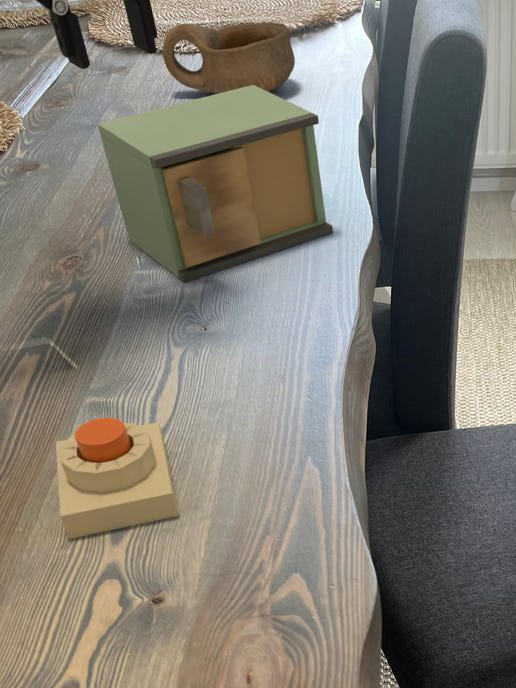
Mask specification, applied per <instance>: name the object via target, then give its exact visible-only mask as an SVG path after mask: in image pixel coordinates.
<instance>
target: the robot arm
mask: <svg viewBox="0 0 516 688" xmlns="http://www.w3.org/2000/svg"><path fill="white" fill-rule="evenodd" d="M35 1H36V2H37V3H39V5H41V6H42V7H43V8H45V9H46V10H48V12H49V17H50V20H51V22H52V23H51V24H52V27H53V30H54V33H55V37H56V41H57V44H58V47H59V50H60V52H61V54H62V56H63V57H65V58H67V60H68V61H69V63H70V64H72V65H74V66H75V67H78V68H79V69H81V70H86V69H89V68H90V67H89V66H91V62H90V58H89V54H88V51H87V47H86V44H85V40H84V36H83V32H82V29H81V25H80V22H79V17H78V15H77V14H76V13H75V12H72V11H71V8H70V4H69V0H35ZM122 1H123V4H124V9H125V13H126V17H127V21H128V26H129V29H130V35H131V38H132V43H133V45H134V47H135V48H137V49H139V50H142V51H143V52H145V53H148V54H150V55H152V54H157V52H158V50H157V44H156V41H155V39H157V38H158V30H157V26H156V21H155V16H154V13H153V8H152V4H151V0H122Z"/></svg>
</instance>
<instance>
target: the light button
mask: <svg viewBox="0 0 516 688" xmlns="http://www.w3.org/2000/svg"><path fill="white" fill-rule="evenodd" d="M123 423H124V422H123V421H121V420H120V419H117V418H113V417H100V418H95V419H92V420H89V421H87V422H84V423H83V424H82V425H80V426H79V427H78V428H77V429H76V431H75V433H74V434H75V439H76V441H77V444H78V447H79V450H80V452H81V455H82V457H83V459H84V460H85V461H87V462H92V463H103V462H108V461H113V460H116V459H118V458H120V457H122V456H124V455H126V454H127V453H128V452H129V451H130V449H131V444H130V441H129V438H128V434H127V431H126V428H125V425H124V424H123Z"/></svg>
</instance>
